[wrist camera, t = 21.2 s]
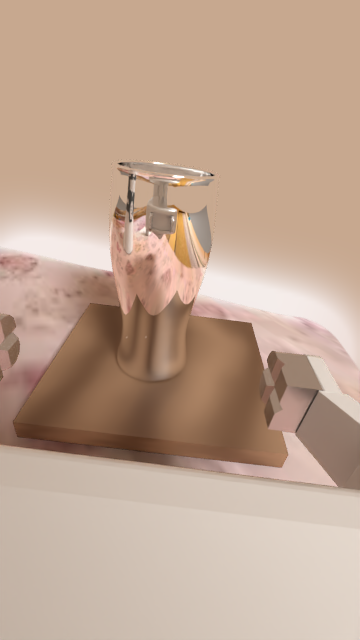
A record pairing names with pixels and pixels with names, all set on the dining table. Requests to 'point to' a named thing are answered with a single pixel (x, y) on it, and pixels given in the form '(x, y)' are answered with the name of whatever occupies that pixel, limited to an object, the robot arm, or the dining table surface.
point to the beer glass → (158, 259)
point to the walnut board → (157, 395)
